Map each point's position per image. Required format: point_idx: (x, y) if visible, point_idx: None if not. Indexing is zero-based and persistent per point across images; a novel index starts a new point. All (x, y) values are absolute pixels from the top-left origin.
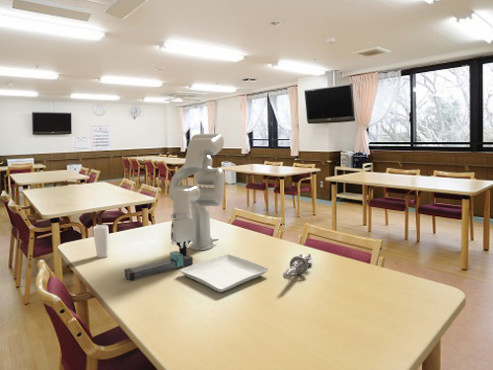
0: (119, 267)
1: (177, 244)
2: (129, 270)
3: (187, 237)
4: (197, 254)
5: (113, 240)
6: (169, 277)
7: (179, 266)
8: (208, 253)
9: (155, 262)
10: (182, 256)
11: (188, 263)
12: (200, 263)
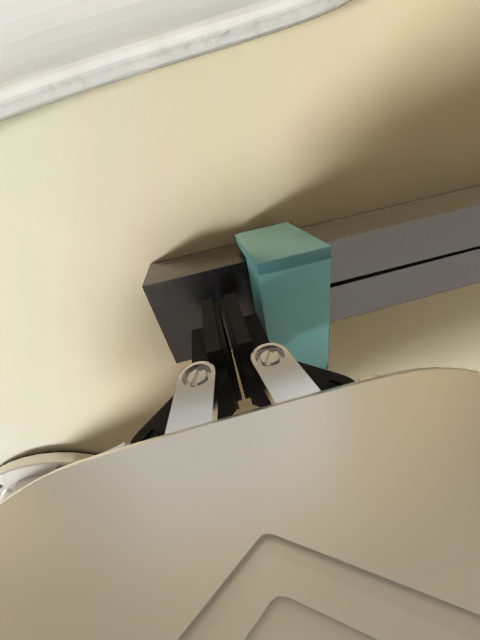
0: (471, 360)
1: (350, 380)
2: None
3: (196, 519)
4: (97, 411)
5: None
6: (402, 57)
7: (268, 226)
8: (16, 411)
9: (423, 294)
10: (258, 257)
11: (186, 261)
12: (59, 58)
